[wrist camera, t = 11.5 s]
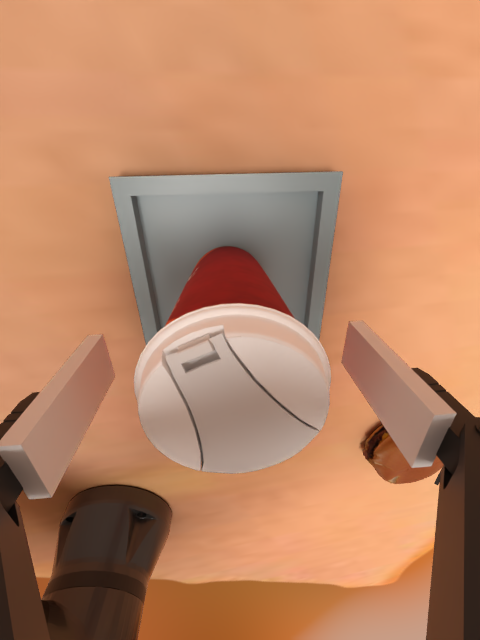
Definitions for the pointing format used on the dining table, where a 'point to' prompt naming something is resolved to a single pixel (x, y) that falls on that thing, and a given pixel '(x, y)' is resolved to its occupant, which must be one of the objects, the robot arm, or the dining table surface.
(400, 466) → the burger
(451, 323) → the dining table surface
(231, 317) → the coffee cup
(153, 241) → the tray
